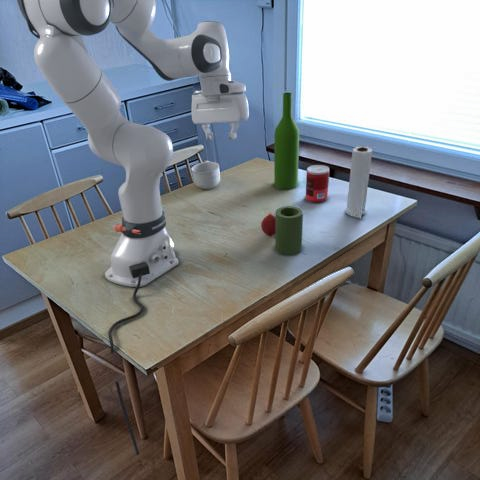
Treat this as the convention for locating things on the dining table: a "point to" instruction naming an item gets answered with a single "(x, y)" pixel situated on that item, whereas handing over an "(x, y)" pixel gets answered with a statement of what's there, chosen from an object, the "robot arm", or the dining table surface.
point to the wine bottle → (286, 148)
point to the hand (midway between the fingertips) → (221, 139)
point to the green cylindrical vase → (289, 230)
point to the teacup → (206, 174)
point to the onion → (269, 225)
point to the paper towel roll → (358, 181)
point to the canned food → (317, 183)
